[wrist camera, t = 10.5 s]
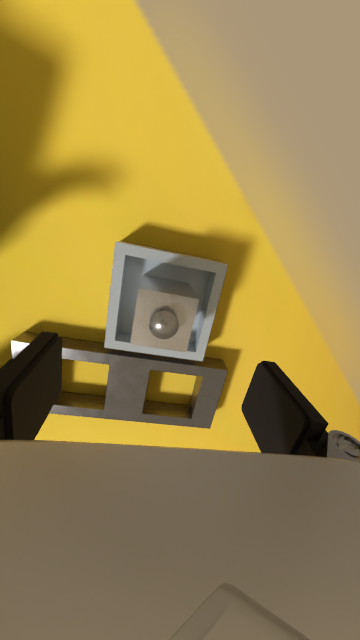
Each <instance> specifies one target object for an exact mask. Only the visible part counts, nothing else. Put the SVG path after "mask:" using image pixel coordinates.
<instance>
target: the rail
mask: <svg viewBox="0 0 360 640" xmlns="http://www.w3.org/2000/svg"><path fill="white" fill-rule="evenodd" d="M38 335H39V334H37V333H30V332H23V333H22V334H21V335H19V336H18V337H16V338H15V339H13V340H12V341H11V346H12V359H14V358H15V357H16V356H17V355H18V354H19V353H20V352H21V351H22V350H23V349H24V348H25V347H26V346H27V345H29V344H30V343H31V342H32V341H33V340H34V339H35V338H36V337H37V336H38ZM104 344H105V343H100V342H93V341H86V340H79V339H72V338H65V337H62V359H70V360H78V361H85V362H93V363H101V364H109V373H108V381H107V390H106V396H98V395H89V394H80V393H70V392H61V391H60V394H59V396H58V398H57V400H56V402H55V403H54V405H53V407H52V409H51V410H50V412H49V413H51V414H62V415H72V416H83V417H93V418H104V419H114V420H125V421H135V422H146V423H156V424H167V425H177V426H188V427H198V428H209V429H210V427H211V424H212V420H213V417H214V414H215V411H216V408H217V404H218V401H219V398H220V395H221V391H222V388H223V385H224V382H225V379H226V375H227V372H228V369H227V367H226V365H225V363H224V361H223V360H220V359H213V358H206V357H204V358H203V361H197V360H189V359H182V358H175V357H168V356H161V355H153V354H146V353H139V352H132V351H125V350H117V349H110V348H104ZM150 370H155V371H163V372H171V373H179V374H186V375H194V376H197V378H196V382H195V385H194V389H193V393H192V397H191V401H190V404H189V405H181V404H171V403H162V402H153V401H144V400H145V394H146V389H147V383H148V378H149V373H150Z"/></svg>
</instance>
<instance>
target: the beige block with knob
mask: <svg viewBox="0 0 360 640" xmlns="http://www.w3.org/2000/svg"><path fill="white" fill-rule="evenodd" d="M198 302H199V298H198V297H197V295H196V293H195V292H194V290H193V289H192V287H191V286H190V284H189V283H186V282H181V281H175V280H170V279H165V278H160V277H155V276H150V275H145V274H144V275H143V278H142V281H141V283H140V286H139V288H138V295H137V302H136V308H135V315H134V321H133V328H132V334H131V341H130V344H131V345H137V346H144V347H151V348H158V349H164V350H171V351H178V352H185V353H186V352H187V348H188V344H189V340H190V335H191V331H192V327H193V323H194V319H195V315H196V311H197V306H198Z"/></svg>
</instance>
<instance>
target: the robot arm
mask: <svg viewBox="0 0 360 640" xmlns="http://www.w3.org/2000/svg"><path fill="white" fill-rule="evenodd" d="M61 374H62V337H58V334H57V333H51V332H44V331H43V332H41V333H40V334H39V335H38V336H37V337H36V338H35V339H34V340H33V341H32V342H31V343H30V344H29V345H27V346H26V347H25V348H24V349H23V350H22V351H21V352H20V353H19V354H18V355H17V356H16V357H15V358H14V359H11V360H9V361H8V362H7V363H6V364H5V365H4V366H3V367H1V368H0V640H360V442H359V441H358V440H357V439H355V438H354V437H352V436H350V435H349V434H346V433H344V432H341V431H337V430H332V431H330V432H329V433H328V432H327V431H326V430H325V429H326V427H327V425H328V423H327V421H326V420H325V419H324V418H323V417H322V416H321V415H320V413H319V412H318V411H317V410H316V409H315V408H314V407H313V405H312V404H311V403H310V402H309V401H308V400H307V399H306V397H305V396H304V395H303V394H302V393H301V392H300V391H299V389H298V388H297V387H296V386H295V385H294V384H293V383H292V381H291V380H290V379H289V378H288V377H287V376H286V374H285V373H284V372H283V371H282V370H281V369H280V368H279V366H278V365H277V364H276V363H275V362H269V361H262V362H261V363H259V364H258V365H257V367H256V370H255V372H254V375H253V377H252V380H251V383H250V385H249V388H248V391H247V393H246V396H245V398H244V401H243V404H242V412H243V414H244V417H245V419H246V421H247V423H248V425H249V427H250V429H251V432H252V434H253V436H254V438H255V440H256V442H257V444H258V446H259V449H260V451H261V453H258V452H242V451H227V450H210V449H194V448H177V447H160V446H142V445H123V444H104V443H85V442H67V441H46V440H34V439H35V437H36V435H37V434H38V432H39V430H40V428H41V426H42V425H43V423H44V421H45V419H46V418H47V416H48V414H49V412H50V410H51V409H52V407H53V405H54V403H55V402H56V400H57V398H58V396H59V394H60V391H61Z"/></svg>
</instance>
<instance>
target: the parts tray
mask: <svg viewBox="0 0 360 640" xmlns="http://www.w3.org/2000/svg"><path fill="white" fill-rule="evenodd" d="M227 268H228V265H227V264H225V263H223V262H220V261H215V260H210V259H205V258H200V257H196V256H191V255H186V254H181V253H176V252H171V251H167V250H162V249H157V248H152V247H147V246H143V245H138V244H133V243H128V242H123V241H116V242H115V250H114V260H113V269H112V278H111V288H110V297H109V306H108V316H107V325H106V335H105V344H104V348H110V349H117V350H125V351H132V352H139V353H146V354H153V355H161V356H168V357H175V358H182V359H189V360H197V361H203V358H204V354H205V351H206V347H207V343H208V339H209V336H210V332H211V328H212V324H213V321H214V317H215V313H216V309H217V306H218V302H219V298H220V294H221V290H222V287H223V283H224V279H225V275H226V272H227ZM144 274H145V275H150V276H155V277H160V278H165V279H170V280H175V281H181V282H186V283H189V284H190V286H191V287H192V289H193V290H194V292H195V293H196V295H197V297H198V298H199V302H198V306H197V311H196V315H195V319H194V323H193V327H192V331H191V335H190V340H189V344H188V348H187V352H186V353H185V352H178V351H171V350H164V349H158V348H151V347H144V346H137V345H131V344H130V341H131V334H132V328H133V321H134V315H135V308H136V302H137V295H138V288H139V286H140V283H141V281H142V278H143V275H144Z"/></svg>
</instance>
